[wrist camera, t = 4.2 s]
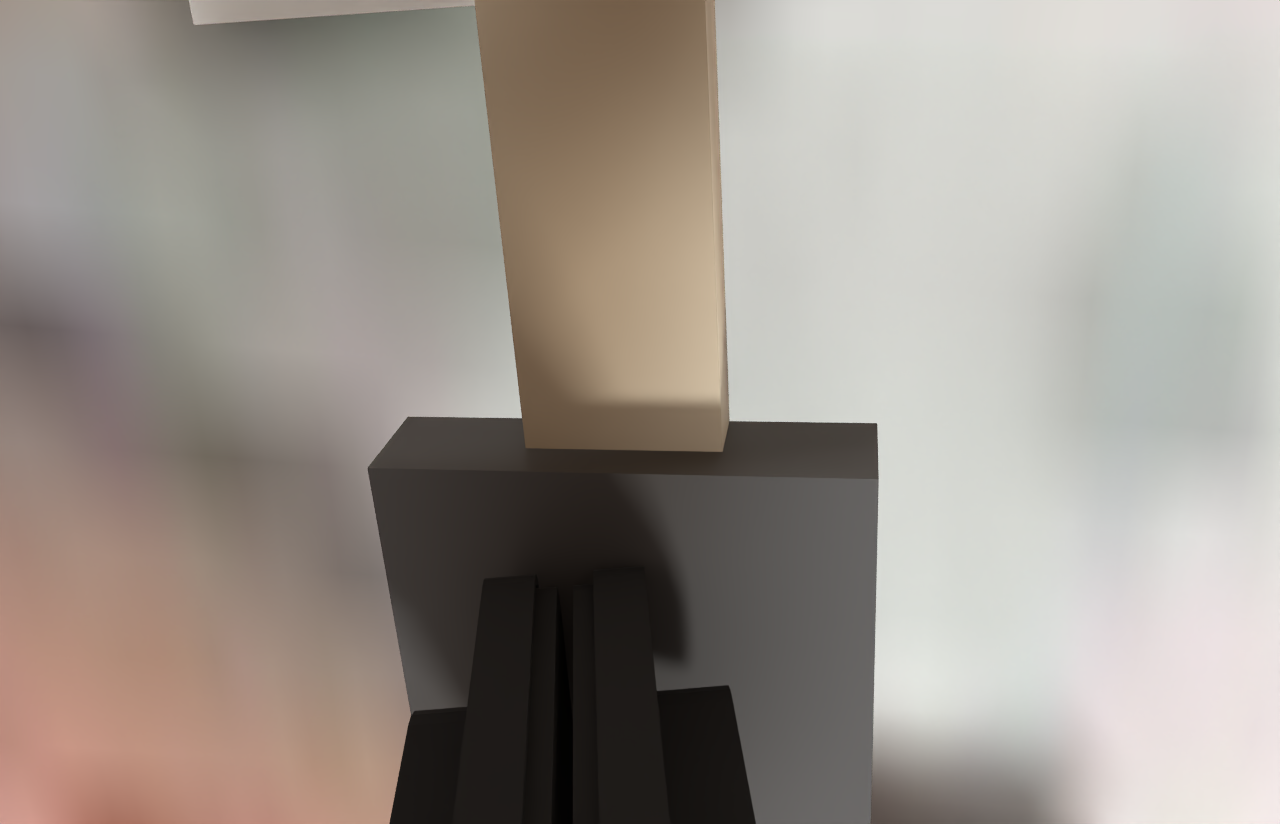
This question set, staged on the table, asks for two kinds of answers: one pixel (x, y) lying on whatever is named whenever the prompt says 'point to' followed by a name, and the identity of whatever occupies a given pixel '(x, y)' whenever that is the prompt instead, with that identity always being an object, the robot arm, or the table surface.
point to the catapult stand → (302, 8)
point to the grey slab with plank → (640, 417)
